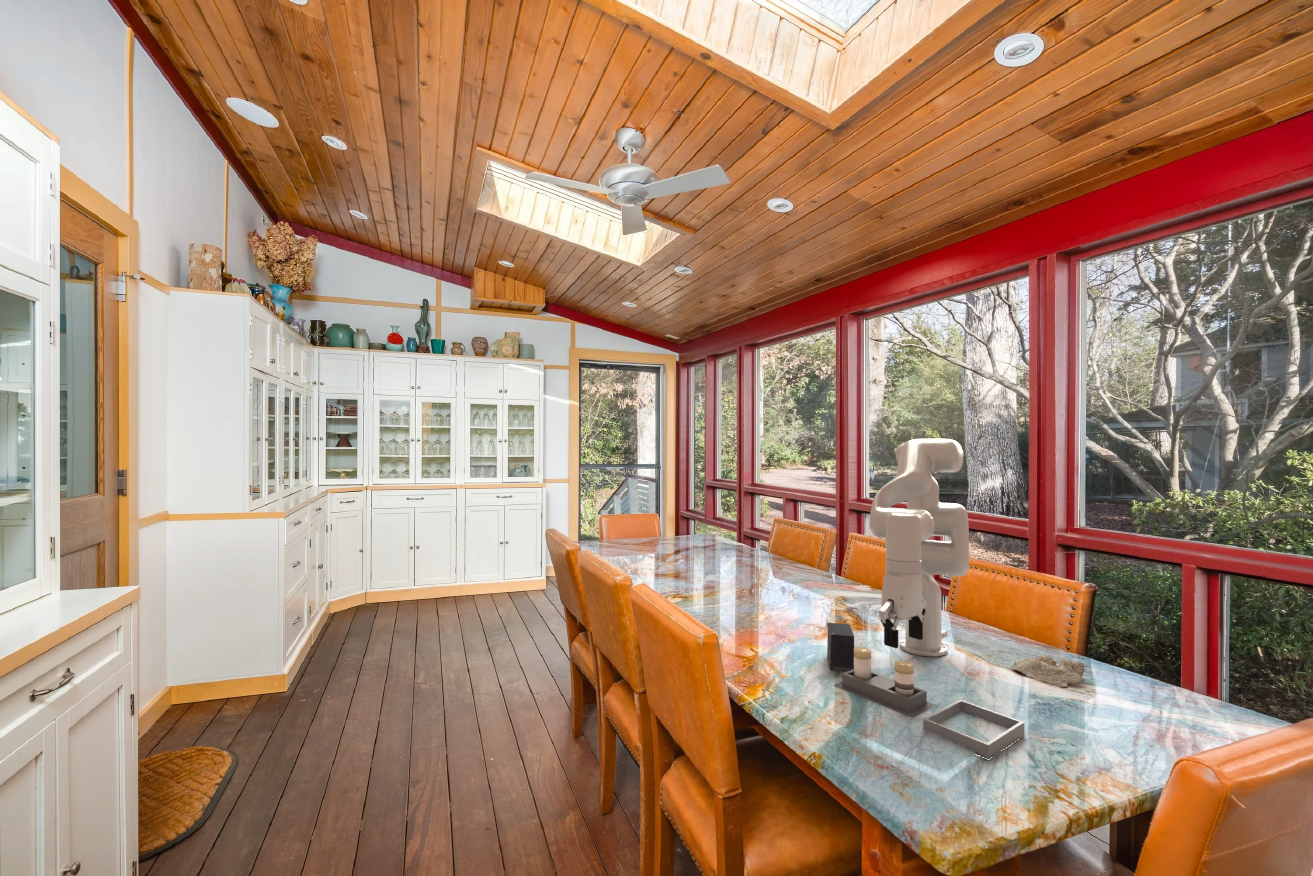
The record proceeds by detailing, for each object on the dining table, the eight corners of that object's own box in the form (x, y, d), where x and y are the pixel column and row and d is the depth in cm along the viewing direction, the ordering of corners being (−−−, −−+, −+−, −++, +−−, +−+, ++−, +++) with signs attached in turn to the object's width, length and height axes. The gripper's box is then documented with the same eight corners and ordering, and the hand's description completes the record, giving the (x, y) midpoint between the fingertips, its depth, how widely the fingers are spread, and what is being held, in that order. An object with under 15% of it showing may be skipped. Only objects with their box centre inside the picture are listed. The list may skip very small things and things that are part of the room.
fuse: (860, 682, 148) (860, 646, 148) (874, 687, 145) (874, 650, 145) (850, 686, 146) (850, 649, 146) (864, 691, 142) (864, 654, 142)
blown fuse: (901, 697, 139) (901, 659, 139) (917, 704, 136) (917, 664, 136) (891, 702, 137) (891, 663, 137) (907, 709, 133) (907, 668, 133)
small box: (855, 676, 154) (855, 635, 154) (829, 674, 155) (829, 634, 155) (850, 661, 165) (850, 623, 164) (826, 659, 166) (826, 621, 166)
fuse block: (857, 679, 152) (857, 663, 152) (937, 709, 135) (937, 692, 135) (832, 689, 146) (832, 673, 146) (912, 722, 129) (912, 704, 129)
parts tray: (960, 712, 133) (960, 699, 133) (1024, 736, 123) (1024, 722, 123) (923, 733, 125) (923, 718, 125) (988, 761, 114) (988, 745, 114)
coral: (1008, 657, 167) (1008, 639, 167) (1077, 667, 159) (1077, 648, 159) (1011, 681, 151) (1011, 661, 151) (1088, 693, 144) (1088, 672, 144)
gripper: (909, 560, 144) (909, 631, 144) (866, 568, 134) (866, 645, 134) (939, 565, 138) (939, 639, 138) (896, 574, 128) (896, 654, 128)
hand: (903, 642), depth 136 cm, fingers open, 9 cm apart
